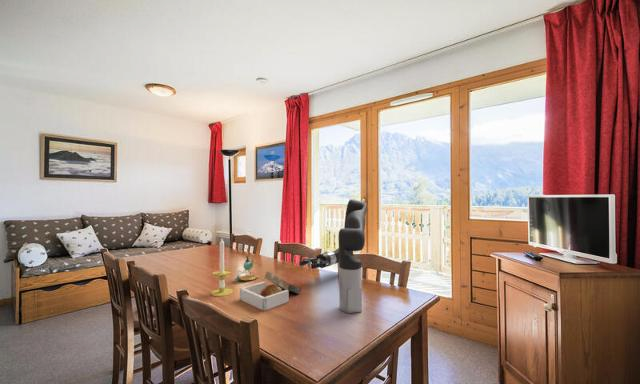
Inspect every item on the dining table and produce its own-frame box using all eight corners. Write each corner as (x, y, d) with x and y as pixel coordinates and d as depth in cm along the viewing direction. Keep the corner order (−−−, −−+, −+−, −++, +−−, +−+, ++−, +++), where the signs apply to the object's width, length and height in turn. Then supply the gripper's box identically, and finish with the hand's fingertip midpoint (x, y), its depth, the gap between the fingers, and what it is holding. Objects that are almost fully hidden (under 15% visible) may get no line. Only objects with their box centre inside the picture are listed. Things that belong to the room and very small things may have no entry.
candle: (225, 297, 129) (225, 239, 129) (206, 295, 131) (206, 238, 131) (236, 289, 139) (236, 235, 139) (218, 288, 141) (218, 235, 141)
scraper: (284, 283, 142) (260, 269, 130) (301, 288, 134) (277, 274, 123) (281, 289, 140) (257, 275, 129) (298, 295, 133) (274, 281, 121)
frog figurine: (226, 281, 153) (229, 254, 155) (255, 278, 165) (257, 252, 167) (235, 285, 146) (237, 256, 148) (264, 281, 159) (266, 255, 160)
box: (263, 291, 136) (263, 281, 136) (288, 301, 124) (288, 290, 124) (239, 299, 127) (239, 288, 127) (264, 310, 114) (264, 298, 114)
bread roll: (284, 304, 130) (286, 286, 133) (278, 302, 121) (280, 283, 124) (263, 303, 131) (265, 285, 135) (256, 301, 122) (258, 282, 126)
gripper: (317, 251, 161) (296, 255, 149) (336, 254, 151) (315, 260, 140) (317, 264, 161) (296, 269, 149) (336, 268, 151) (315, 275, 140)
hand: (305, 265), depth 144 cm, fingers open, 8 cm apart
